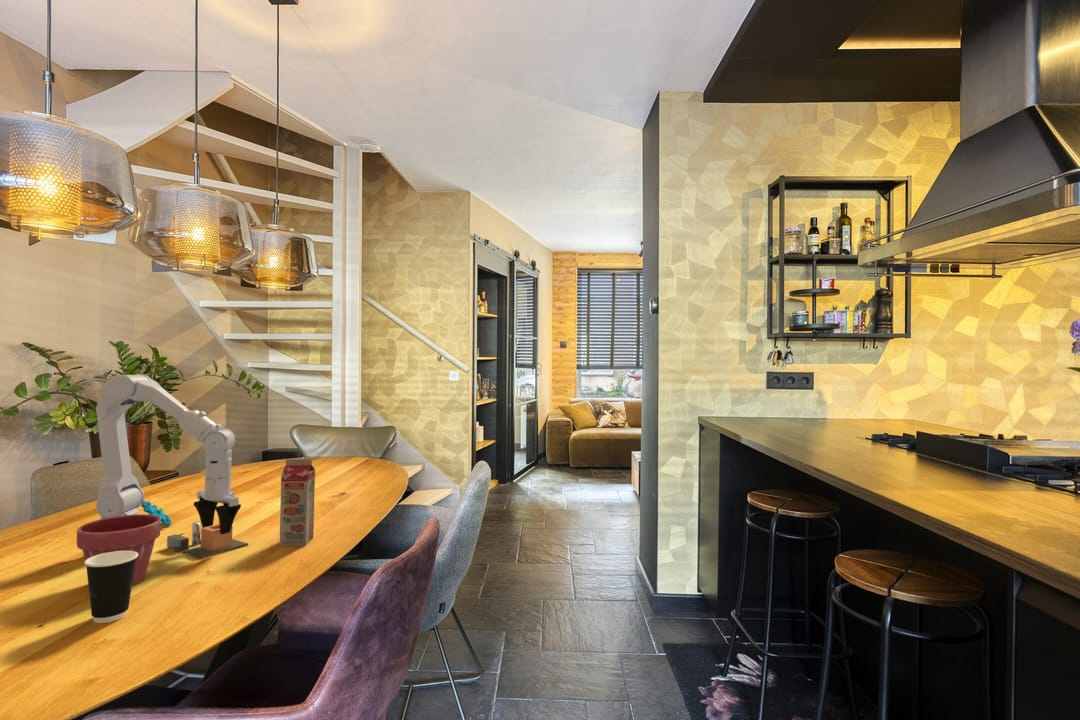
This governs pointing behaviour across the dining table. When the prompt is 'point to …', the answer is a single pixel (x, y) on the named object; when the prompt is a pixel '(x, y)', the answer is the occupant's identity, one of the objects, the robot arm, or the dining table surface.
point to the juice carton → (297, 503)
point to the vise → (184, 539)
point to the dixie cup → (110, 584)
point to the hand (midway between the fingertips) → (216, 530)
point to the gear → (156, 512)
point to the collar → (215, 538)
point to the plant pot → (121, 538)
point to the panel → (205, 553)
